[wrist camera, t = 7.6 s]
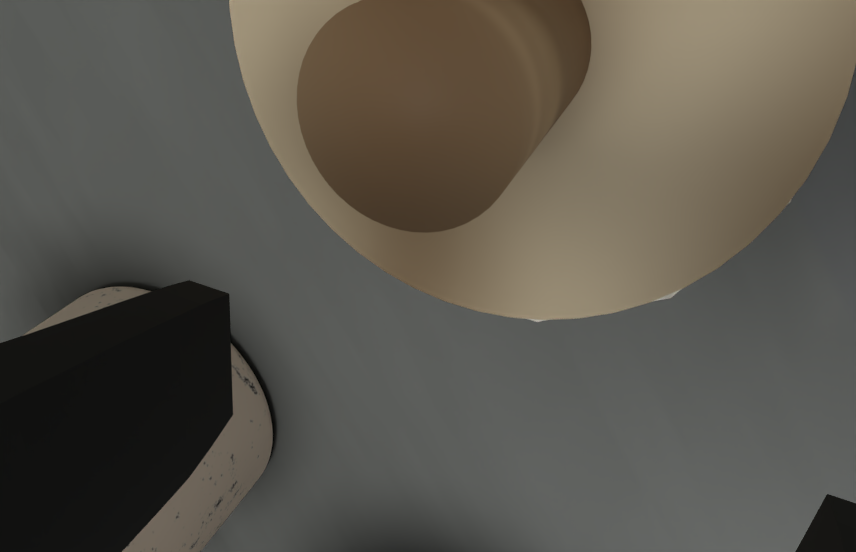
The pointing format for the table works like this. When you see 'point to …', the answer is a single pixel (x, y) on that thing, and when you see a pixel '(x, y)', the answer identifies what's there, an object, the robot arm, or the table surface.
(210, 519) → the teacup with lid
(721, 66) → the lid
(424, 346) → the table surface
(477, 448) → the table surface
